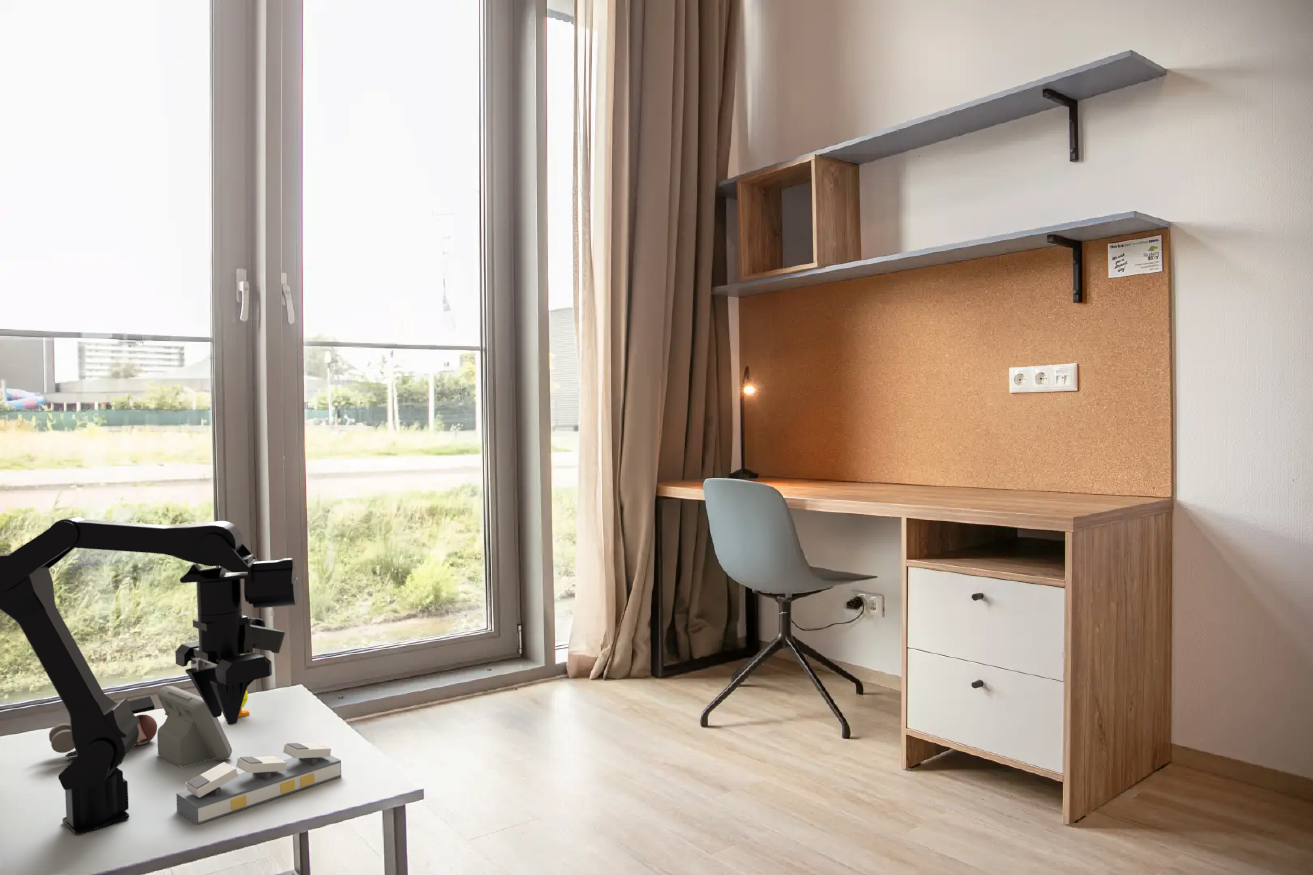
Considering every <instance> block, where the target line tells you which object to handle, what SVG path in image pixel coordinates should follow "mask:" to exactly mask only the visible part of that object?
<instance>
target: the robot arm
mask: <svg viewBox="0 0 1313 875" xmlns="http://www.w3.org/2000/svg"><path fill="white" fill-rule="evenodd" d="M74 549H85V550H86V549H88V550H101V551H103V550H104V551H118V552H130V553H131V552H133V553H143V554H144V553H145V554H146V553H147V554H161V555H162V554H163V555H166V556H169V557H174V558H177V559H178V560H179V559H180V560H182V561H186V562H189V563H193V564H192V565H191V566H190V568H189V570H187V571H186V573H184V575H183V576H182V577H180V578H179V583H181V584H186V583H187V584H188V583H196V584H195V585H196V607H197V618H196V619H192V628H195V629H197V630H198V640H196V641H191V642H186V643H181V644H180V645H179V647H178V648H177V649H176V650H175V651H174V652H175V665H177V666H179V667H182V668H185V667H187V666H188V665H189V662H190V668H185V670H184V671H185V674H187V676H188V677H189V678H190V681H191V682H192V684H193V685H194V687H195V689H196V690H197V692H198V694H199V696H200V697H202V699H203V701H204V703H205V704H206V706H207V708H208V710H209V711H210V713H211V715H212V717H214V718H216V717H217V718H218V717H221V716H222V715H223V717H224V719H225V722H226V724H227V725H229V726H233V725H236V724H237V723H238V719H239V717H238V716H239V713H240V709H241V706H242V702H243V698H244V695H245V692H246V690H247V689H248V687H249V686H250V685H251V684H252V683H253V682H254V680H260V679H262V678H268V677H272V675H273V669H272V667H273V666H272V661H271V660H270V659H269V658H268V657H266V656H265V655H262V654H259V653H256V652H254V649H255V650H256V649H257V650H262V651H268V652H271V653H274V654H280V651H281V649H282V648H281V647H282V645H283V642H284V639H285V636H286V632H285V631H284V630H280V629H276V628H273V627H268V626H266V624H265V620H264V619H261V618H255V617H249V616H247V615H243V614H244V613H243V595H242V594H244V599H245V600H244V601H245V602H246V603H248V604H249V605H252V606H253V608H254V609H266V608H267V609H268V608H275V607H276V608H277V607H291V606H297V605H298V601H299V578H298V576H297V570H296V566H295V558H294V557H287V558H286V557H284V558H281V559H278V560H277V559H276V560H261V561H259V559H258V558H257V557H256V556H255V555H254V554H253V553H252V552H251V550H250V549H249V548H248V547H247V546H246V544H245V543H243V535H242V533H241V531H240V529H239V527H237V526H236V525H235V524H234V523H232V522H230V521H226V520H217V521H205V522H194V523H188V524H187V523H186V524H179V525H178V524H175V525H166V524H165V525H164V524H152V523H140V522H126V521H114V520H113V521H111V520H99V519H88V518H82V517H79V516H71V517H67V518H63V519H59V520H57V521H55V522H54V523H53V524H52V525H50V527H48V528H47V529H45V531H43V532H41V533H40V534H38V535H37V536H36V537H33V538H32V539H31V540H30V541H28V542H26V543H25V544H23V545H21V546H20V547H18V548H17V549H15V550H14V551H12V552H9V553H8V552H7V553H4V554H1V555H0V611H1V612H3V613H5V615H7V616H8V617H10V618H11V619H13V620H14V621H15V622H16V623H17V624H18V625H19V627H20V629H21V631H22V632H23V634H24V636H25V638H26V639H27V641H28V643H29V645H30V646H31V649H32V650H33V652H34V654H35V655H36V657H37V659H38V662H40V664H41V666H42V668H43V669H44V671H45V673H46V675H47V677H48V679H49V681H50V682H51V684H52V686H53V688H54V689H55V691H56V692H57V694H58V696H59V699H60V700H61V702H62V703H63V705H64V707H65V709H66V711H67V712H68V715H69V722H70V723H69V724H71V736H72V741H73V744H74V747H75V748H74V751H76V756H77V757H76V758H75V759H74V760H72V761H70V763H69V764H68V765H67V766H66V767H65V768H64V769H63V770H62V771H61V772H60V773H59V774H58V776H57V777H58V780H59V782H60V785H61V787H62V788H63V790H64V794H65V817H63V818H61V819H62V820H61V821H62V823H63V825H65V827H67V828H68V829H69V830H70V831H71V832H72V833H74V834H75V835H79V834H80V835H81V834H83V833H86V832H90V831H93V830H96V829H99V828H102V827H106V826H109V825H111V824H115V823H119V822H122V821H125V820H128V819H129V818H130V814H129V813H128V812H127V811H128V810H129V807H130V806H129V787H128V786H129V785H128V783H129V782H128V780H126V779H125V778H124V771H123V770H122V769H120V768H118V767H119V766H120V765H121V764H123V761H124V759H125V758H126V756H128V754H129V753H130V751H131V750H132V749H133V748H134V747H135V746H136V745H135V744H136V742H137V739H138V736H139V730H138V727H137V725H138V723H139V722H140V720H139V719H138V718H137V717H135V716H136V714H133V713H132V711H131V708H130V705H129V702H128V701H129V700H128V699H127V698H126V697H124V698H122V699H121V700H120V701H119V702H116V701H114V700H113V699H111V698H110V697H109V696H108V695H106V693H105V692H104V691H103V689H102V687H101V686H100V683H99V681H98V680H97V678H96V677H95V674H94V673H93V671H92V669H91V667H90V666H89V664H88V662H87V660H86V659H85V657H84V655H83V653H82V651H81V649H80V648H79V646H78V644H77V642H76V640H75V639H74V636H73V635H72V633H71V632H70V629H69V628H68V626H67V624H66V622H65V621H64V619H63V617H62V615H61V614H60V612H59V610H58V608H57V605H56V602H55V587H54V581H53V578H52V575H51V572H50V569H51V568H52V567H53V566H54V565H56V564H58V563H59V562H60V561H61V560H62V559H64V558H65V557H66V556H67V555H69V553H71V552H72V551H74ZM200 565H202V566H206V567H208V568H206V567H205V568H204V567H202V566H200ZM217 566H219V567H217ZM227 571H228V572H227ZM242 579H243V582H244V583H243V589H242ZM242 590H243V591H242ZM242 592H244V593H242ZM240 654H241V655H240ZM247 691H248V690H247Z"/></svg>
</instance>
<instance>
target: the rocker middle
mask: <svg viewBox="0 0 1313 875" xmlns="http://www.w3.org/2000/svg"><path fill="white" fill-rule="evenodd" d="M283 760H284V759H281V758H279V757H277V756H273V755H271V756H270V755H269V756H240V757H237V759H236V765H235V767H236V768H238V769H240V770H242V771H243V772H247V773H258V772H274V771H285V768H286V763H287V762H285V761H283Z"/></svg>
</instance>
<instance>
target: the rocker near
mask: <svg viewBox="0 0 1313 875" xmlns="http://www.w3.org/2000/svg"><path fill="white" fill-rule="evenodd" d="M238 774H239V773H238V772H237V767H236V768H235V767H234V766H232V765H230V764H228V763H227V762H225V761H223V762H222V763H219V764H218V765H215V766H213V767H212V768H210V769H209V770H207V771H204V772H203V773H201V774H199V775H197V776H195V777H193V778H192V779H189V780H188V781H185V788H186V790H188V791H189V792H191V793H192V794H194V795H196V796H197V797H199V798H200V797H202V796H203V795H205V794H207V793H209V792H211V791H212V790H214V789H216V788H218V787H220V786H221V785H223V784H225V783H227V782H229V781H230V780H232V779H234V778H236V777H238Z"/></svg>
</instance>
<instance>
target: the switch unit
mask: <svg viewBox="0 0 1313 875" xmlns="http://www.w3.org/2000/svg"><path fill="white" fill-rule="evenodd" d="M282 760H283V761H285V762H287V763H286V768H285V771H274V772H258V773H247V772H245V771H243V772H241V773H237V774H238V777H236V778H234V779H232V780H230V781H229V782H227V783H225V784H223V785H221V786H220V787H218V788H216V789H214V790H212V791H211V792H209V793H207V794H205V795H203V796H202V797H200V798H199V797H197V796H196V795H194V794H192V793H191V792H189V791H188V790H187V789H185V790H183V791H182V790H181V791H178V792H176V794H175V795H176V796H175V797H176V812H178V813H179V814H181V815H182V816H184V817H185V818H187V819H188V820H190V822H192V823H194V824H195V825H200V824H203V823H206V822H209V821H212V820H215V819H218V818H222V817H224V816H227V815H230V814H233V813H236V812H239V811H242V810H246V809H248V808H252V807H254V806H257V805H260V804H263V803H266V802H269V801H272V800H274V799H277V798H280V797H283V796H284V797H285V796H287V795H290V794H293V793H296V792H298V791H299V792H300V791H301V790H305V789H308V788H312V787H314V786H317V785H319V784H320V785H321V784H323V783H325V782H329V781H331V780H334V779H335V780H336V779H338V778H340V777H342V760H341V759H339V758H338V757H335V756H332V755H331V754H330V757H315V758H294V757H289V758H286V759H282Z"/></svg>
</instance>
